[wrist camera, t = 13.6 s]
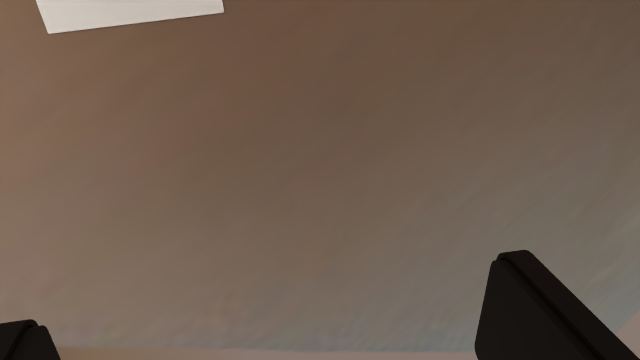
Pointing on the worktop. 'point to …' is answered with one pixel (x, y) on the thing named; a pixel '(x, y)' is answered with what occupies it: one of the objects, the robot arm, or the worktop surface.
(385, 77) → the worktop surface
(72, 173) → the worktop surface
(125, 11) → the lid
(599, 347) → the robot arm
